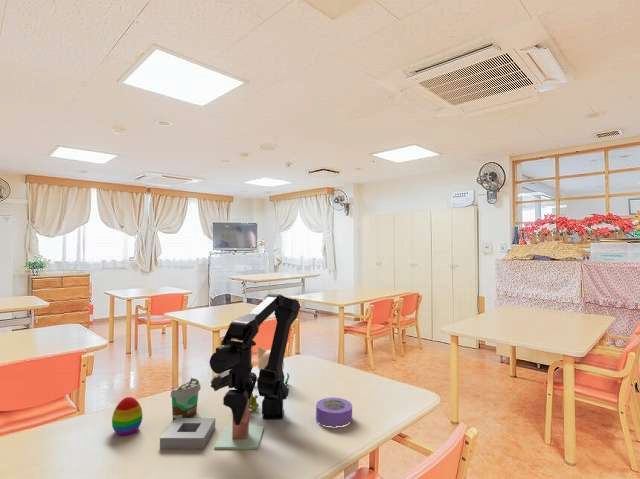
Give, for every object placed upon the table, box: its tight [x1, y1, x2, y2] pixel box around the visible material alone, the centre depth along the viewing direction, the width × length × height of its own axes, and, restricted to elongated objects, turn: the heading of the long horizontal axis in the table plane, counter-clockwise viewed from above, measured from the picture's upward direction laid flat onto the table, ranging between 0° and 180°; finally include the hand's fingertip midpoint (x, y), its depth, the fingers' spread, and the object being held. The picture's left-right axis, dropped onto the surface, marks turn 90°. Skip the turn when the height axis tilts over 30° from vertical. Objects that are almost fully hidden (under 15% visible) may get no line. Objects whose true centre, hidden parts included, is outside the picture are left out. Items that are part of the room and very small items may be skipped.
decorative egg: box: [111, 396, 143, 436], centre depth 111 cm, size 8×8×10 cm
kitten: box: [256, 346, 290, 386], centre depth 152 cm, size 15×10×15 cm, turn 77°
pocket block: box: [159, 417, 216, 450], centre depth 107 cm, size 12×12×3 cm
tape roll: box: [315, 397, 353, 427], centre depth 120 cm, size 12×12×5 cm
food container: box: [170, 377, 202, 421], centre depth 122 cm, size 12×6×10 cm, turn 168°
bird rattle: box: [249, 381, 260, 411], centre depth 126 cm, size 6×11×9 cm
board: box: [213, 425, 265, 450], centre depth 107 cm, size 12×12×1 cm
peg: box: [232, 399, 250, 439], centre depth 108 cm, size 4×4×10 cm
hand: (240, 417), depth 108 cm, fingers open, 9 cm apart
